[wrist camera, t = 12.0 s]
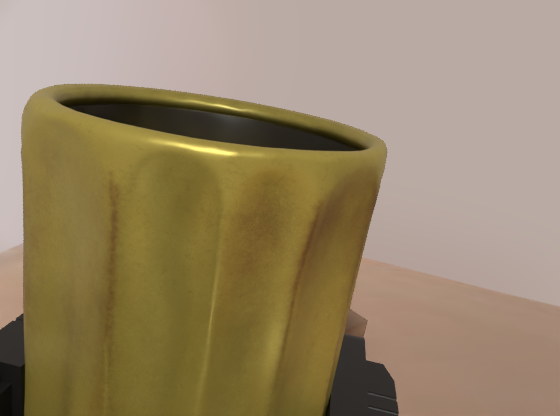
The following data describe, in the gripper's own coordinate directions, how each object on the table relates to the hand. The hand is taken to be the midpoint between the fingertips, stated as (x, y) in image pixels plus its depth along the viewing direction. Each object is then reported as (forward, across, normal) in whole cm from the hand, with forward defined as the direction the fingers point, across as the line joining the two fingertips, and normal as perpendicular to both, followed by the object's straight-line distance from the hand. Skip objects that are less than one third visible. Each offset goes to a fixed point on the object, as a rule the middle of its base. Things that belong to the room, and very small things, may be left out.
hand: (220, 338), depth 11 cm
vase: (-3, 0, +9) cm, 9 cm away
